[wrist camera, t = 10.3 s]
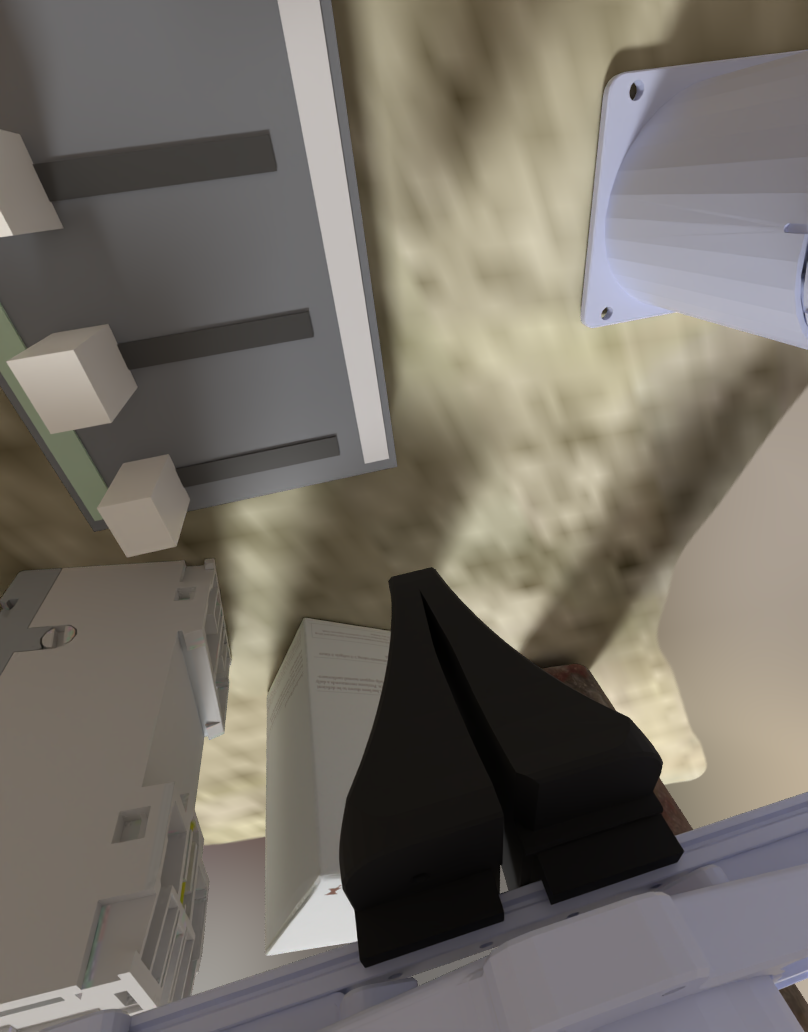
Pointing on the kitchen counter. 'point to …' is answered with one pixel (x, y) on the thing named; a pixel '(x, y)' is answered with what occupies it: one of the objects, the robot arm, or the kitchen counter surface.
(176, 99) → the breaker panel
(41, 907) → the circuit breaker
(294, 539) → the kitchen counter surface
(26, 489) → the kitchen counter surface
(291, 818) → the supplement box
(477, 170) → the kitchen counter surface
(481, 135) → the kitchen counter surface
